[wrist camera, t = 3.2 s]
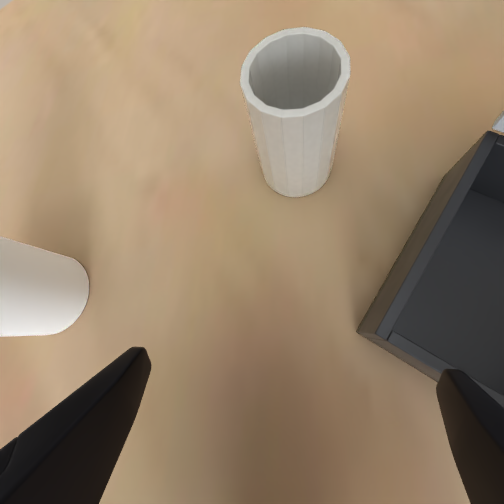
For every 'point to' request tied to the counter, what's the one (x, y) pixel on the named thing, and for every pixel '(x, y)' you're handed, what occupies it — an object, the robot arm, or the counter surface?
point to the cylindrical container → (39, 290)
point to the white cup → (296, 106)
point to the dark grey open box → (451, 278)
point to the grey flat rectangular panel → (499, 123)
